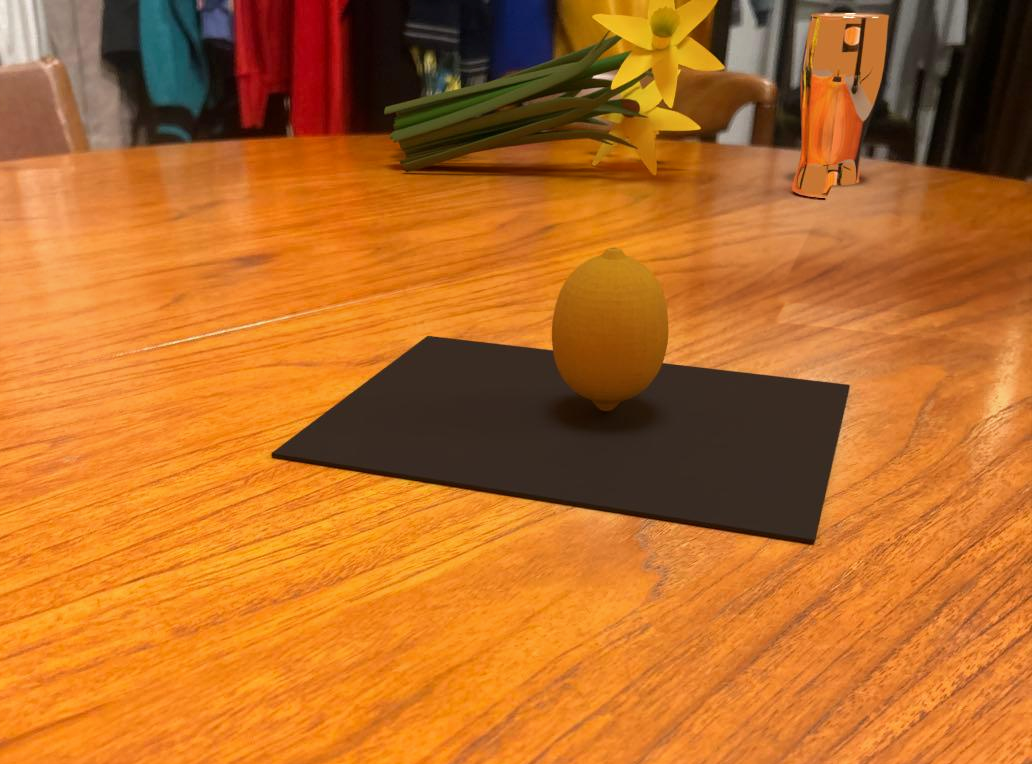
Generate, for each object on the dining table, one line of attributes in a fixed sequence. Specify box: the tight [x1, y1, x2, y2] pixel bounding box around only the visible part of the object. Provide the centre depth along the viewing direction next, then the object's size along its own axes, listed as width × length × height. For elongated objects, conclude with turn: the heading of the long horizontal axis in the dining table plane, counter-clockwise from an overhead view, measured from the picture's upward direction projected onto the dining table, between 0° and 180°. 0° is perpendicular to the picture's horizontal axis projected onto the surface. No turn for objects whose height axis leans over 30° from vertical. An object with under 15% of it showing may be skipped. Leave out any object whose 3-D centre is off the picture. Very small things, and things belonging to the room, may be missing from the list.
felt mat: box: [271, 335, 851, 545], centre depth 53 cm, size 24×18×1 cm
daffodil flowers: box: [384, 0, 726, 176], centre depth 108 cm, size 17×15×35 cm
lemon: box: [551, 247, 669, 411], centre depth 52 cm, size 6×6×8 cm
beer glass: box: [791, 12, 890, 198], centre depth 98 cm, size 7×7×15 cm
